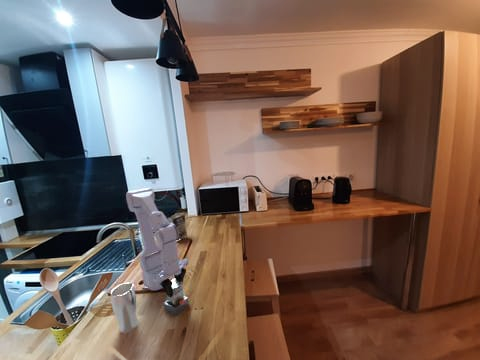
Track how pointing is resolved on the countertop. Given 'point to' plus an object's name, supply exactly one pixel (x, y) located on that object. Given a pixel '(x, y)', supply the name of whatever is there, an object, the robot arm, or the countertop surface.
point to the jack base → (177, 309)
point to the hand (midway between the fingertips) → (174, 291)
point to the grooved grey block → (176, 292)
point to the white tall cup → (124, 306)
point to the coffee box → (179, 225)
